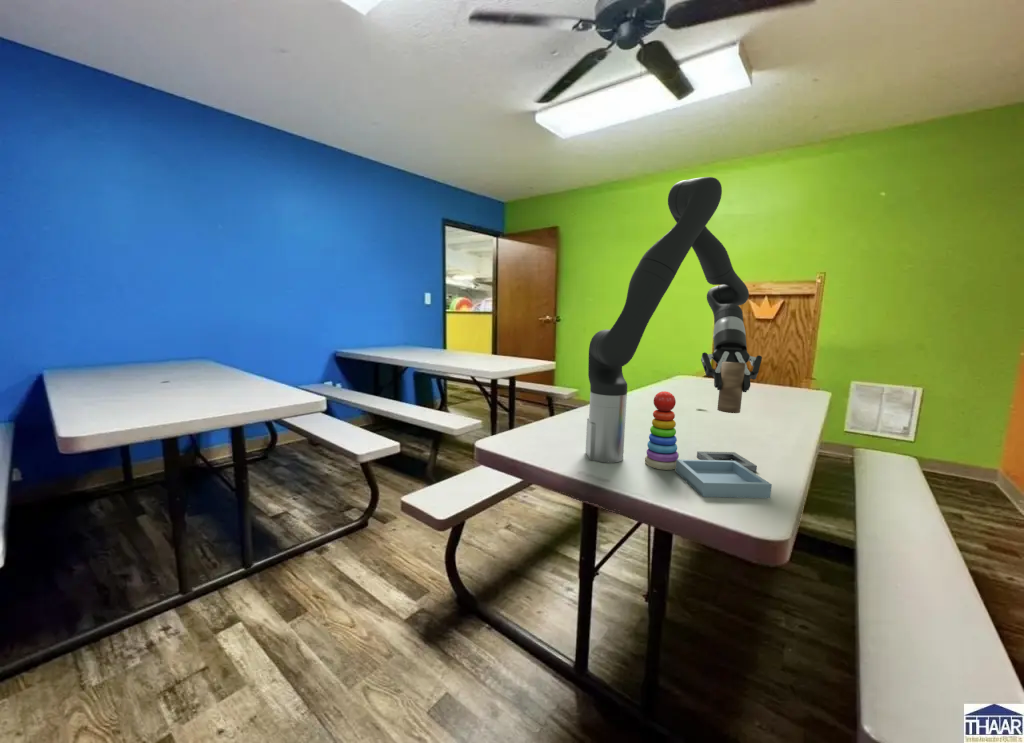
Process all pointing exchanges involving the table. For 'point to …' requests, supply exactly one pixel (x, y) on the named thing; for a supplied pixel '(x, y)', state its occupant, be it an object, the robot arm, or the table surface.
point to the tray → (722, 479)
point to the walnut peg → (731, 387)
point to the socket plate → (727, 458)
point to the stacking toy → (663, 434)
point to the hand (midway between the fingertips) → (732, 389)
